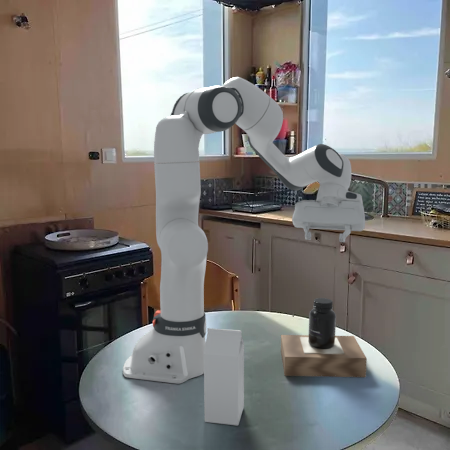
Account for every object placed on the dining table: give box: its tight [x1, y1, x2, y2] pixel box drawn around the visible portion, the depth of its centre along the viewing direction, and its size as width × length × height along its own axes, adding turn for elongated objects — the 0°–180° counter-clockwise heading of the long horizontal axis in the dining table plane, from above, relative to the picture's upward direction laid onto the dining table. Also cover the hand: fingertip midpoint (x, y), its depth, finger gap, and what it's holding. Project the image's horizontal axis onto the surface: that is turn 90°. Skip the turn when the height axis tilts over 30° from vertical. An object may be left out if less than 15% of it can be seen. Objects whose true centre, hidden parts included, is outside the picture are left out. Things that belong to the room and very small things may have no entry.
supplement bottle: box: [308, 297, 337, 349], centre depth 118 cm, size 7×7×12 cm
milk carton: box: [203, 327, 245, 426], centre depth 95 cm, size 7×7×19 cm
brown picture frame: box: [280, 334, 368, 378], centre depth 120 cm, size 20×14×5 cm
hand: (324, 239), depth 125 cm, fingers open, 8 cm apart
